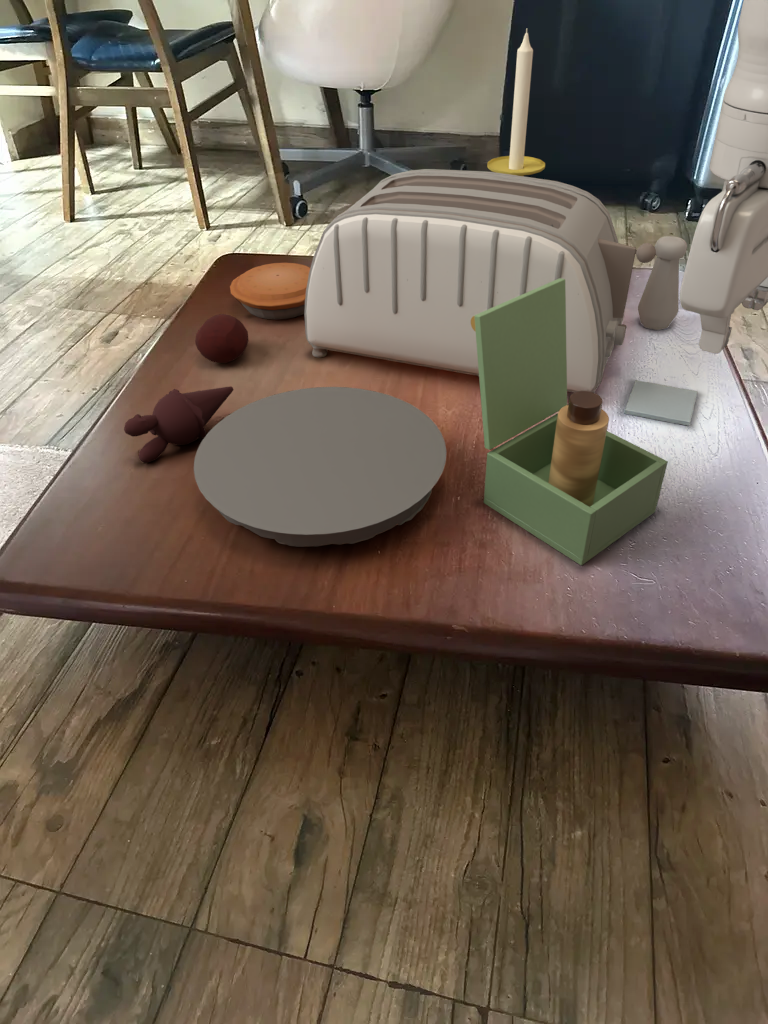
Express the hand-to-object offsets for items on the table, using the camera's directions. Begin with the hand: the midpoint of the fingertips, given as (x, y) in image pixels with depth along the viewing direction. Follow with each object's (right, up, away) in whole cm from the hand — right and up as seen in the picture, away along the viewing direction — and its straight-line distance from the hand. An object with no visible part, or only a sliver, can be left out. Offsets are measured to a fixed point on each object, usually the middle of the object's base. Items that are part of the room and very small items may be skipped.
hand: (733, 326), depth 64 cm
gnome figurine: (-53, -6, +34) cm, 63 cm away
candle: (-9, +20, +63) cm, 67 cm away
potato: (-52, +7, +50) cm, 72 cm away
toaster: (-16, +8, +49) cm, 52 cm away
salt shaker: (+12, +13, +54) cm, 57 cm away
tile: (+7, -1, +37) cm, 38 cm away
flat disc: (-36, -12, +26) cm, 46 cm away
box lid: (-14, 0, +17) cm, 22 cm away
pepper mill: (-9, -14, +21) cm, 27 cm away
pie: (-46, +18, +63) cm, 80 cm away
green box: (-9, -15, +21) cm, 27 cm away
